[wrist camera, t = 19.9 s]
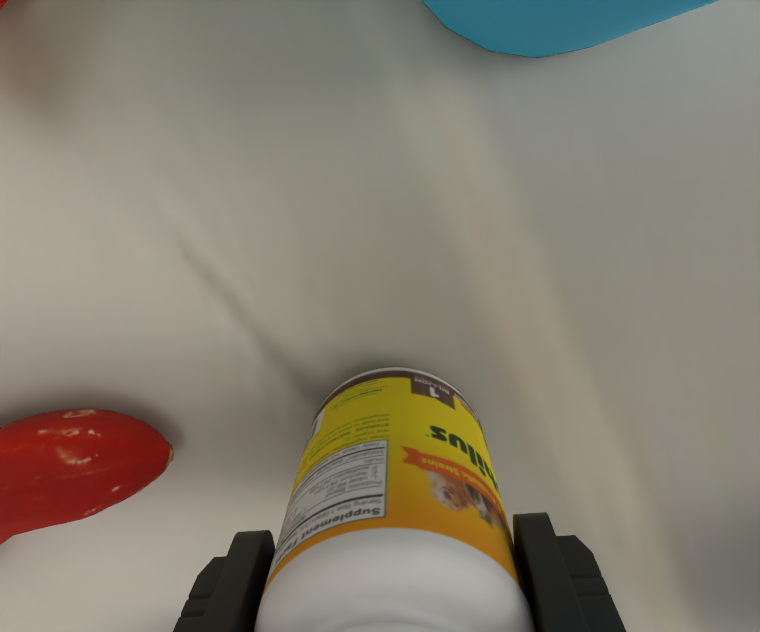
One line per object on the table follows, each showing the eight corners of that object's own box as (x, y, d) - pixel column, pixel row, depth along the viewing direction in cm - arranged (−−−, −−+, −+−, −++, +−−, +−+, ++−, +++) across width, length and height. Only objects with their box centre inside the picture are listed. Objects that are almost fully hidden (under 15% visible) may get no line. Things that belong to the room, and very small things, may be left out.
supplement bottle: (507, 470, 18) (629, 867, 9) (358, 525, 19) (318, 936, 10) (439, 330, 17) (497, 627, 7) (280, 398, 18) (138, 741, 8)
